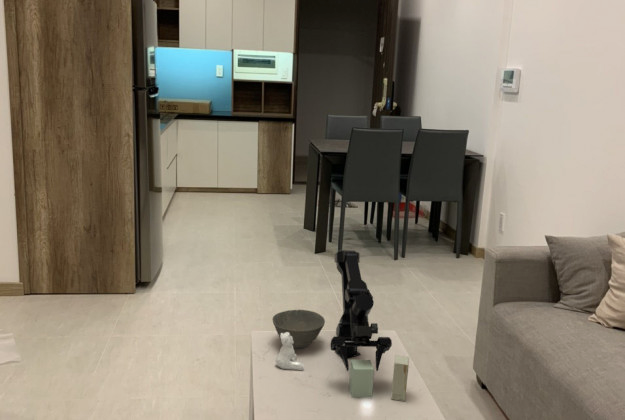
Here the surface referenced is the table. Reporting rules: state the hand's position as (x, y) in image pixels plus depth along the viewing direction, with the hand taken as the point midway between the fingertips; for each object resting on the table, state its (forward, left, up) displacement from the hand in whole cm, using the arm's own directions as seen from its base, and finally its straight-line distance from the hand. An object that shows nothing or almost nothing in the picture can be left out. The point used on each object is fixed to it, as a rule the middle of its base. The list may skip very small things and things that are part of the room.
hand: (362, 370), depth 191 cm
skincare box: (-10, +7, -8) cm, 15 cm away
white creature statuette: (+8, -27, -8) cm, 30 cm away
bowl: (-4, -38, -8) cm, 39 cm away
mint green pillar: (-1, -1, -8) cm, 8 cm away
